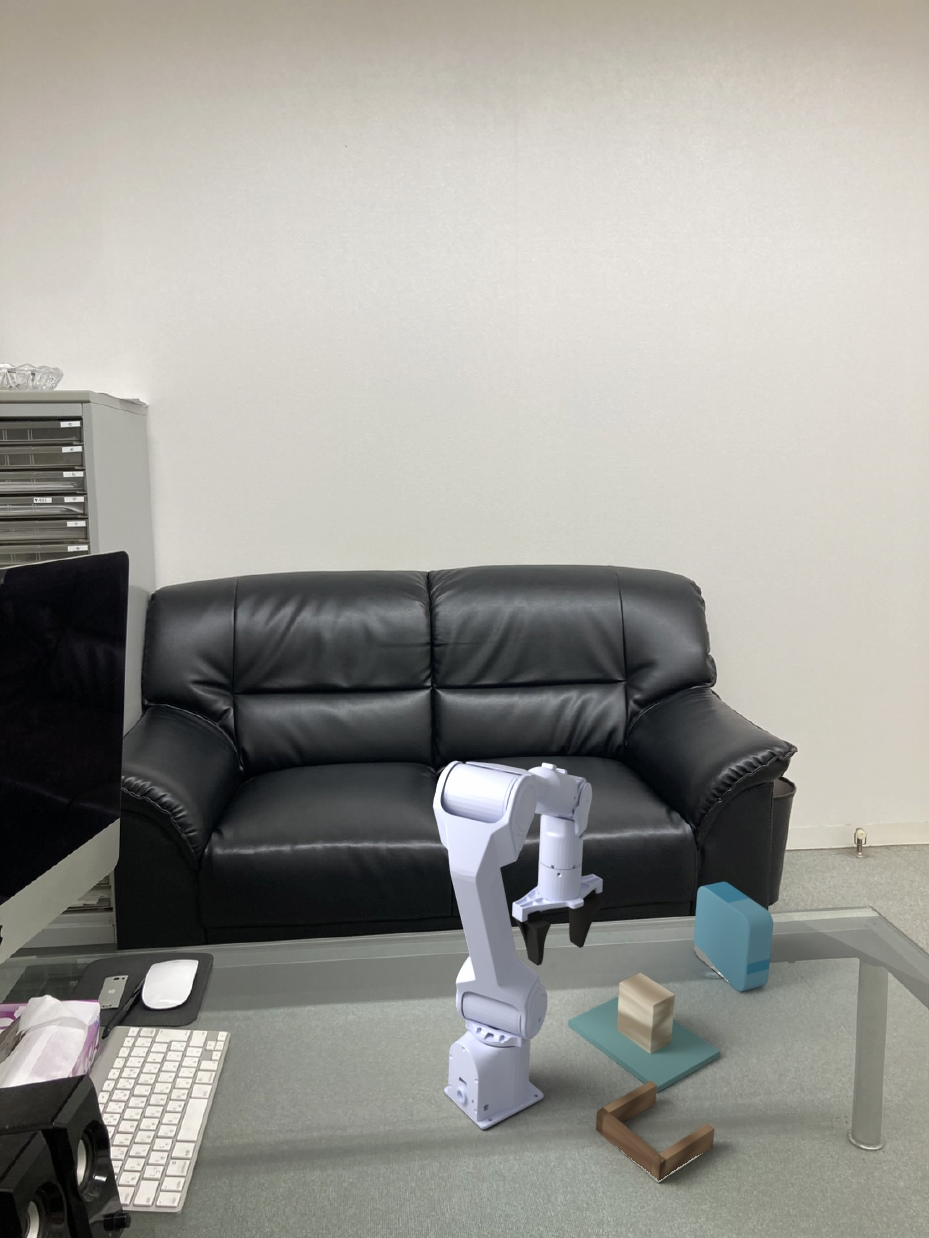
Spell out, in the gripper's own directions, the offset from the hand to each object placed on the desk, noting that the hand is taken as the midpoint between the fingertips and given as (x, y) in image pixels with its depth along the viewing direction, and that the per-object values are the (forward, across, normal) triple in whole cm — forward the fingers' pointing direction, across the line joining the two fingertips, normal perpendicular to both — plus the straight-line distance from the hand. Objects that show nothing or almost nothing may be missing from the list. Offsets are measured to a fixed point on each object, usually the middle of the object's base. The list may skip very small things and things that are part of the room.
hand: (556, 952), depth 128 cm
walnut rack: (+9, -6, -24) cm, 26 cm away
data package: (+10, +29, -7) cm, 31 cm away
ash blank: (+9, +6, -11) cm, 15 cm away
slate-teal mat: (+9, +6, -11) cm, 16 cm away
